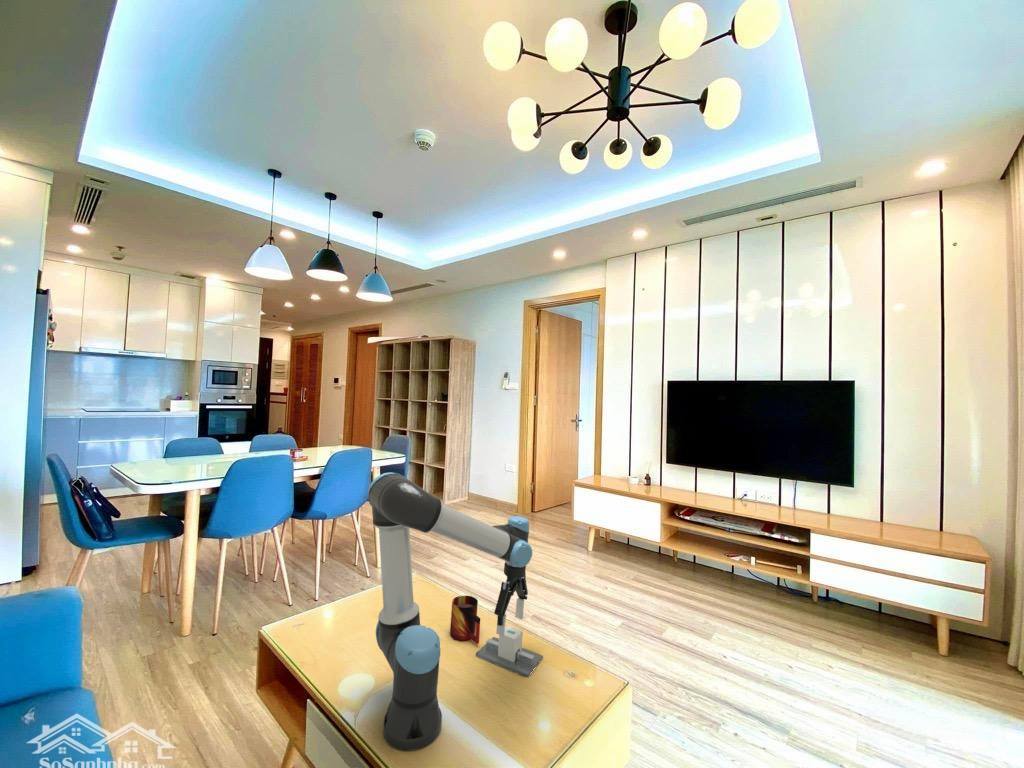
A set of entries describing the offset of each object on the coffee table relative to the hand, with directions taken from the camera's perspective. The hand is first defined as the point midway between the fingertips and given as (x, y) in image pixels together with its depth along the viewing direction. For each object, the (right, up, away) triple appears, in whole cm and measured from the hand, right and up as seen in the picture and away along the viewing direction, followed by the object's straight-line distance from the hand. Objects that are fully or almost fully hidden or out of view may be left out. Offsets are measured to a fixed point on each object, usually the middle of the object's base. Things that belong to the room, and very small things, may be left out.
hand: (510, 625), depth 142 cm
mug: (-16, -11, +11) cm, 22 cm away
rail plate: (0, -11, 0) cm, 11 cm away
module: (0, -10, 0) cm, 10 cm away
